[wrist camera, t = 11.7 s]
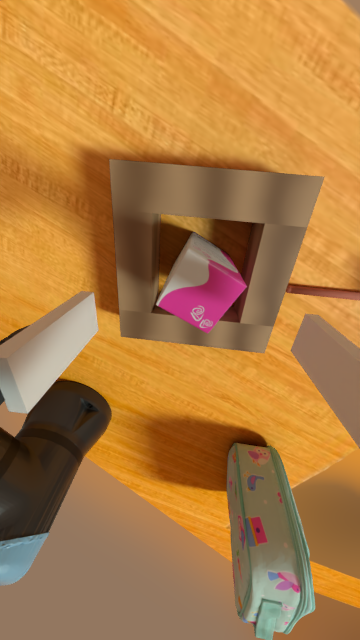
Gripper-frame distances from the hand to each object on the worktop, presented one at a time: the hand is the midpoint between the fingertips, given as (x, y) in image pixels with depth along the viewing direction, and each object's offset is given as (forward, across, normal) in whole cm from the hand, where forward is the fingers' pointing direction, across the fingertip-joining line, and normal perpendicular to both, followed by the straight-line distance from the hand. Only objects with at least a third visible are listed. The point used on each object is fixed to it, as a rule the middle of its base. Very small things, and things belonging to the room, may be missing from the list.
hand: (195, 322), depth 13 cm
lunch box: (+16, +18, -46) cm, 52 cm away
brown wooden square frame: (+16, +1, 0) cm, 16 cm away
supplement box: (+16, 0, 0) cm, 16 cm away
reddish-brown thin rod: (+16, +19, -2) cm, 24 cm away
